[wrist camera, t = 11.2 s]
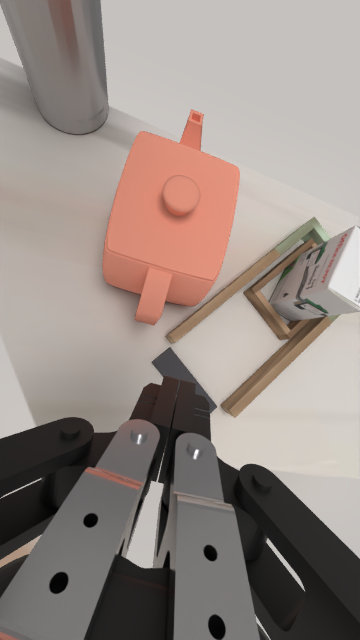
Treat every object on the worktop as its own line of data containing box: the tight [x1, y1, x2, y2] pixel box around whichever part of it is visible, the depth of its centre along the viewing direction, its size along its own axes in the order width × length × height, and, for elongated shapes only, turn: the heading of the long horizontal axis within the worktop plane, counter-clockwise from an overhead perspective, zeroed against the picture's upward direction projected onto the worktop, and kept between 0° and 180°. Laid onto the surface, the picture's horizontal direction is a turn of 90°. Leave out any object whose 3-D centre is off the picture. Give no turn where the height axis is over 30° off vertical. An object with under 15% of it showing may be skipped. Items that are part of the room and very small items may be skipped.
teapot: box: [103, 110, 240, 325], centre depth 28 cm, size 22×13×14 cm, turn 167°
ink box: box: [269, 225, 360, 321], centre depth 33 cm, size 9×5×12 cm, turn 151°
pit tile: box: [152, 348, 217, 413], centre depth 34 cm, size 10×3×1 cm, turn 39°
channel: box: [166, 217, 339, 418], centre depth 36 cm, size 13×27×3 cm, turn 129°
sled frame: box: [244, 238, 317, 340], centre depth 37 cm, size 9×13×2 cm
